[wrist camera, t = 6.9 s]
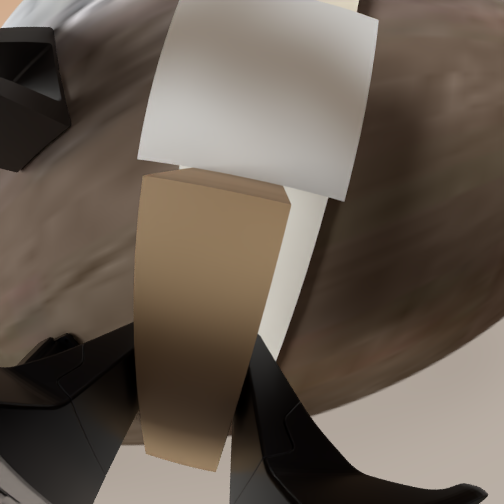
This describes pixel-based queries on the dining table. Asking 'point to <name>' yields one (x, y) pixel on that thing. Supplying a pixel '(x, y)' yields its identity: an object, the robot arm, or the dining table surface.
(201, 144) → the turner
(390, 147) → the dining table surface
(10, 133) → the phone stand
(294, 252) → the tool rest
